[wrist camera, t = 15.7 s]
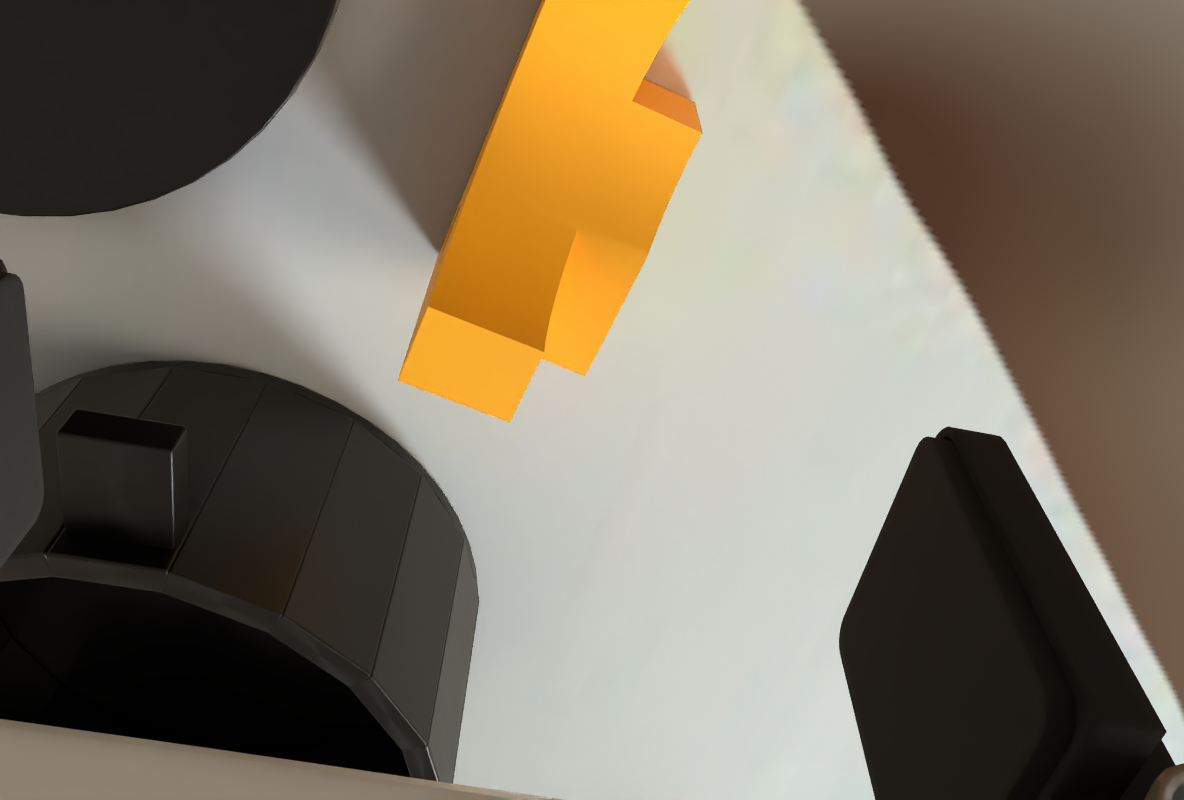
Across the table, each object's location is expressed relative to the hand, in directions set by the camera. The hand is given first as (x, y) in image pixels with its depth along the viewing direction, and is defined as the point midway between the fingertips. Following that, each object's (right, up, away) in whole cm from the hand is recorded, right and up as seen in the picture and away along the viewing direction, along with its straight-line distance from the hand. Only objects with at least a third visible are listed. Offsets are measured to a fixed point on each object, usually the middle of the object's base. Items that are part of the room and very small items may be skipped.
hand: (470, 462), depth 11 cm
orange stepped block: (+2, +9, +15) cm, 17 cm away
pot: (-11, -5, +23) cm, 26 cm away
